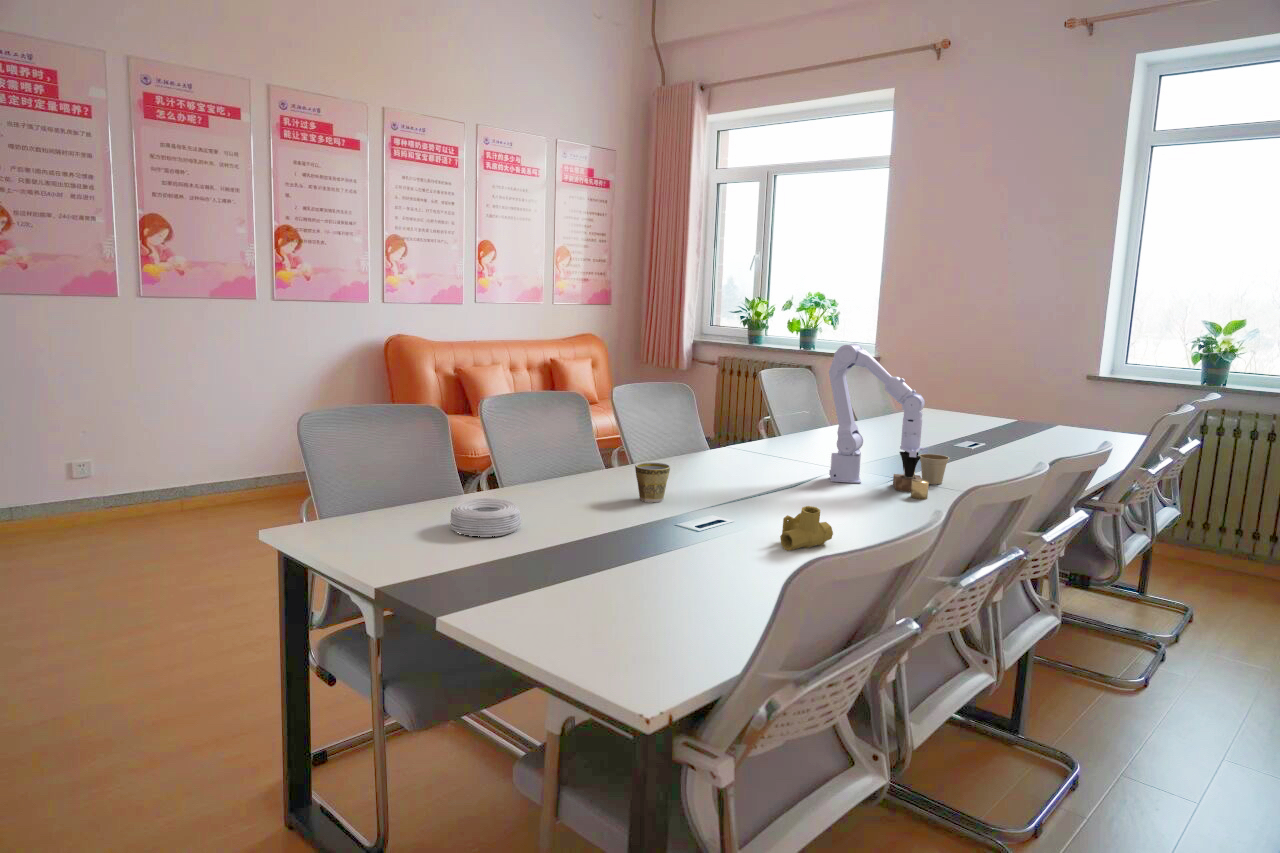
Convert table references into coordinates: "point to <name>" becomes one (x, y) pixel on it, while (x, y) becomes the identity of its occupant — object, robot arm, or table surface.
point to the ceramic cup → (652, 480)
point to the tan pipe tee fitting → (805, 530)
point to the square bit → (908, 477)
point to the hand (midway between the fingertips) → (908, 475)
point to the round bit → (919, 489)
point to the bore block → (903, 482)
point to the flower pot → (933, 467)
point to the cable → (485, 517)
